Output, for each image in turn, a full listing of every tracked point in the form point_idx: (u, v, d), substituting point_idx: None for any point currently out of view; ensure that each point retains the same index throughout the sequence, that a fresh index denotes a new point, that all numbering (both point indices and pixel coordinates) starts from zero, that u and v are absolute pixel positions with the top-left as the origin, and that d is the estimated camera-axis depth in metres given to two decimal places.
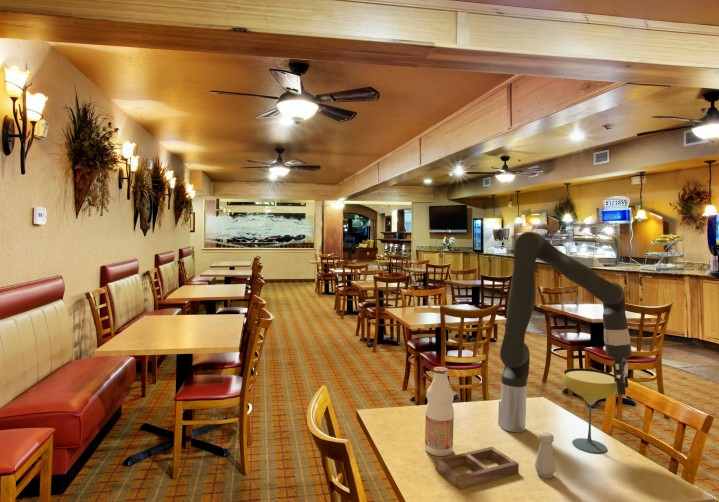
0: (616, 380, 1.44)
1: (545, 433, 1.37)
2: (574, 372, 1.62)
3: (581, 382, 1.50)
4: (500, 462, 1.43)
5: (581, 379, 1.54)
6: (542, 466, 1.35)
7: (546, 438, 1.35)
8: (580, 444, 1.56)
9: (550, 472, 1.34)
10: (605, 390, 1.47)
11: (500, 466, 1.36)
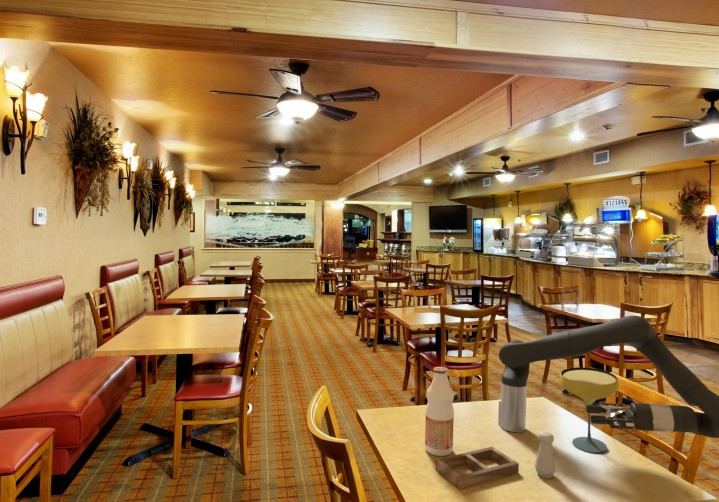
0: (612, 421, 1.24)
1: (545, 433, 1.37)
2: (572, 372, 1.61)
3: (578, 384, 1.49)
4: (500, 462, 1.43)
5: (578, 380, 1.53)
6: (542, 466, 1.35)
7: (546, 438, 1.35)
8: (580, 444, 1.56)
9: (550, 472, 1.34)
10: (602, 391, 1.46)
11: (500, 466, 1.36)
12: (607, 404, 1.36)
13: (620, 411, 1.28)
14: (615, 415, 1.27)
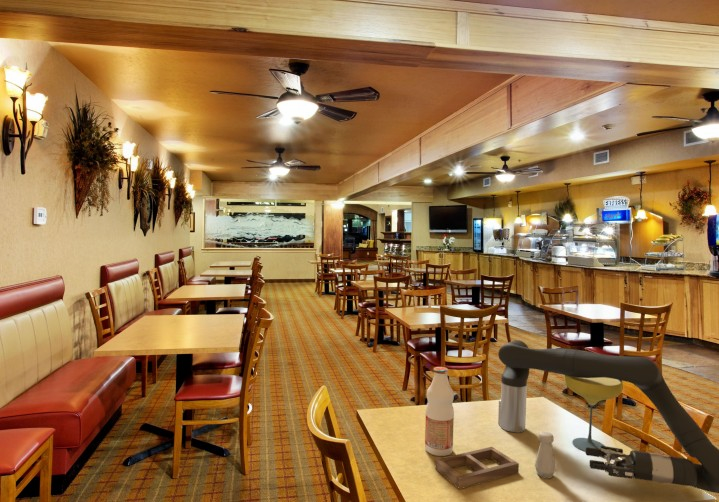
0: (611, 469, 1.24)
1: (545, 433, 1.37)
2: None
3: (582, 383, 1.49)
4: (500, 462, 1.43)
5: (583, 380, 1.53)
6: (542, 466, 1.35)
7: (546, 438, 1.35)
8: (580, 444, 1.56)
9: (550, 472, 1.34)
10: (606, 392, 1.46)
11: (500, 466, 1.36)
12: (607, 448, 1.36)
13: (620, 458, 1.28)
14: (614, 462, 1.27)
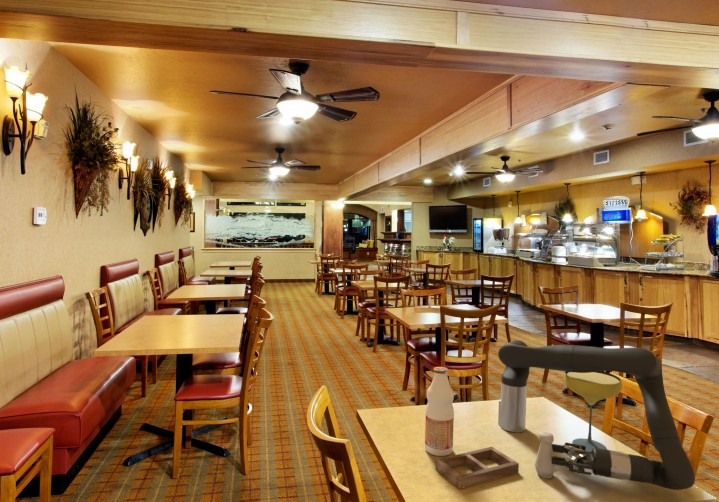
0: (571, 465, 1.28)
1: (545, 433, 1.37)
2: (575, 372, 1.62)
3: (581, 382, 1.50)
4: (500, 462, 1.43)
5: (582, 379, 1.54)
6: (542, 466, 1.35)
7: (546, 438, 1.35)
8: (580, 444, 1.56)
9: (550, 472, 1.34)
10: (605, 390, 1.47)
11: (500, 466, 1.36)
12: (570, 445, 1.40)
13: (581, 455, 1.32)
14: (575, 459, 1.30)
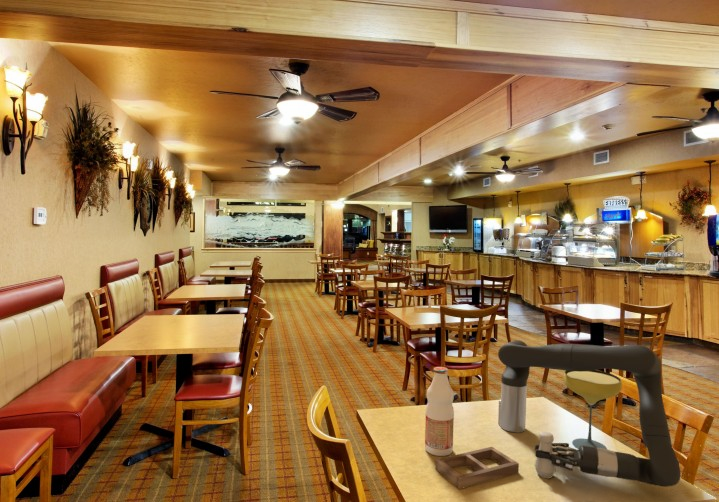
0: (554, 458, 1.32)
1: (545, 433, 1.37)
2: (575, 372, 1.62)
3: (581, 382, 1.50)
4: (500, 462, 1.43)
5: (582, 379, 1.54)
6: (542, 466, 1.35)
7: (546, 438, 1.35)
8: (580, 444, 1.56)
9: (550, 472, 1.34)
10: (605, 390, 1.47)
11: (500, 466, 1.36)
12: (556, 445, 1.39)
13: (568, 452, 1.33)
14: (559, 454, 1.33)
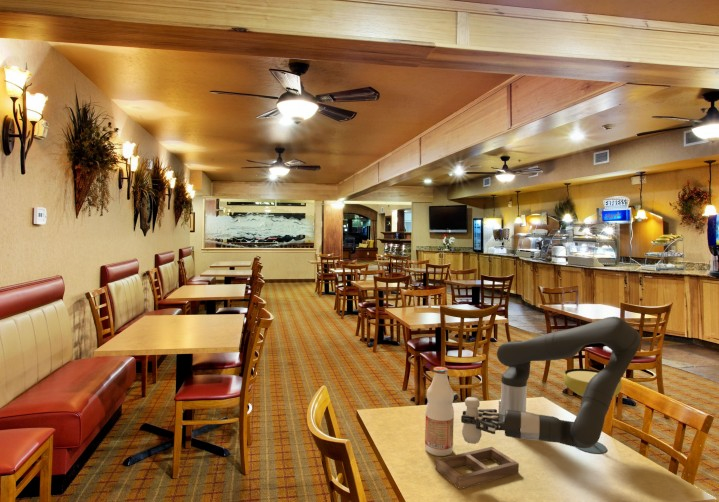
0: (478, 422, 1.30)
1: (471, 398, 1.35)
2: (575, 372, 1.62)
3: (581, 382, 1.50)
4: (500, 462, 1.43)
5: (582, 379, 1.54)
6: (468, 431, 1.33)
7: (471, 402, 1.33)
8: None
9: (475, 437, 1.33)
10: None
11: (500, 466, 1.36)
12: (484, 410, 1.38)
13: (492, 416, 1.32)
14: (483, 418, 1.32)
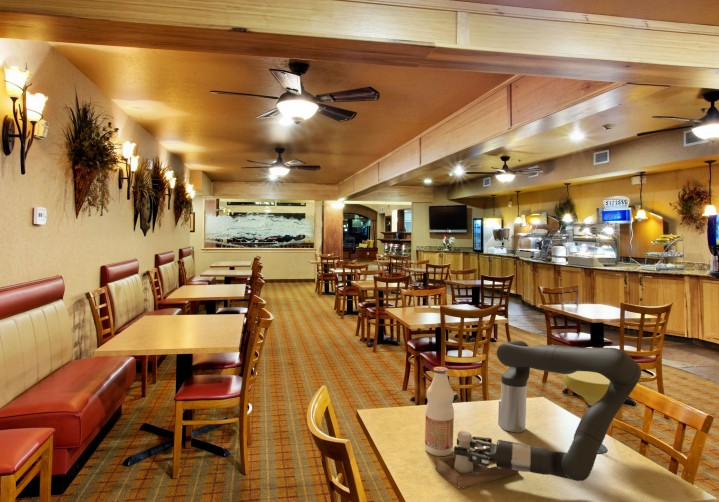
0: (470, 455, 1.30)
1: (463, 432, 1.36)
2: (575, 372, 1.62)
3: (581, 382, 1.50)
4: None
5: (582, 379, 1.54)
6: (459, 466, 1.34)
7: (463, 437, 1.34)
8: None
9: (467, 472, 1.33)
10: (605, 390, 1.47)
11: None
12: (478, 438, 1.39)
13: (484, 447, 1.32)
14: (476, 450, 1.31)
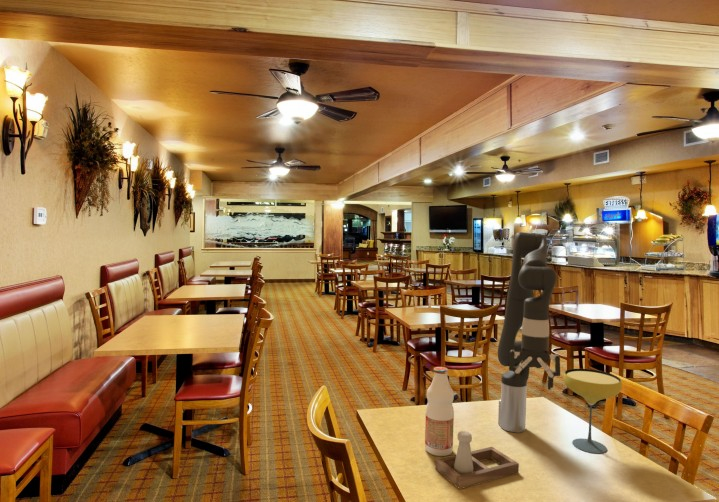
0: None
1: (463, 433, 1.36)
2: (575, 372, 1.62)
3: (581, 382, 1.50)
4: (500, 462, 1.43)
5: (582, 379, 1.54)
6: (459, 466, 1.34)
7: (463, 437, 1.34)
8: (580, 444, 1.56)
9: (467, 472, 1.33)
10: (605, 390, 1.47)
11: (500, 466, 1.36)
12: None
13: None
14: (520, 362, 1.36)
